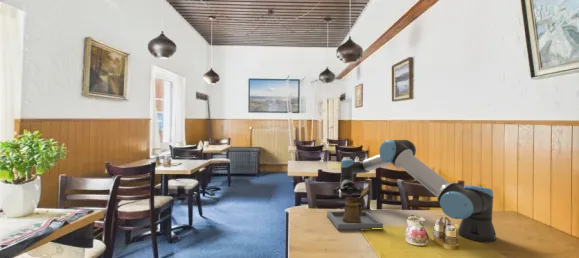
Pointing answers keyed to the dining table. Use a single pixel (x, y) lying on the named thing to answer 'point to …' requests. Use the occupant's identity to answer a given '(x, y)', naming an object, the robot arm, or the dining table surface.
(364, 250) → the dining table surface
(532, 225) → the dining table surface
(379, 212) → the dining table surface
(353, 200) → the turkish coffee pot
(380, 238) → the dining table surface
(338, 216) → the grey tray
